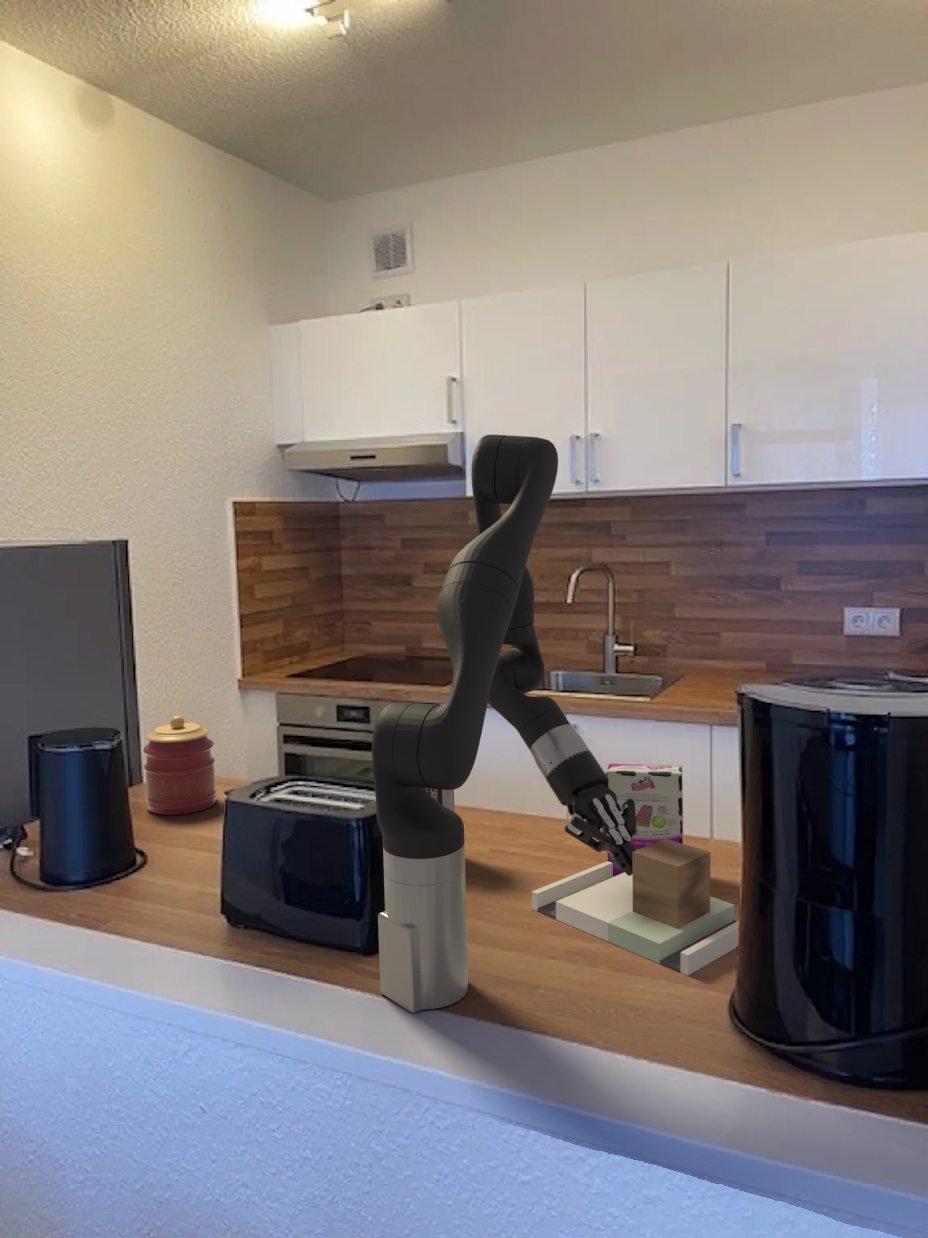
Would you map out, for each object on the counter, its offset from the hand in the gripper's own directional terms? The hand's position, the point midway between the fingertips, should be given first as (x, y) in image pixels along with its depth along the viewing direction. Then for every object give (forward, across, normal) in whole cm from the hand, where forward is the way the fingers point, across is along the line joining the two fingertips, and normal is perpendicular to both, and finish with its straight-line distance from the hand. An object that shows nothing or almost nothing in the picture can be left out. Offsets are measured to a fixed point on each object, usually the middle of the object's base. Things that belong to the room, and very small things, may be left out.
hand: (636, 871), depth 121 cm
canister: (-60, -24, +70) cm, 95 cm away
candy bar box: (-1, +13, +11) cm, 17 cm away
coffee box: (-21, -7, +31) cm, 38 cm away
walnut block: (+7, 0, -1) cm, 7 cm away
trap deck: (+6, 0, +4) cm, 7 cm away
